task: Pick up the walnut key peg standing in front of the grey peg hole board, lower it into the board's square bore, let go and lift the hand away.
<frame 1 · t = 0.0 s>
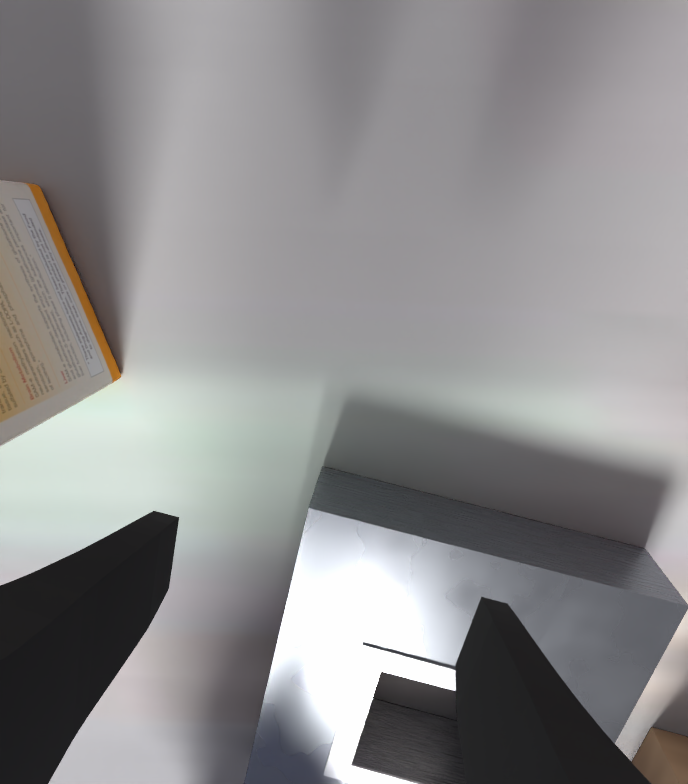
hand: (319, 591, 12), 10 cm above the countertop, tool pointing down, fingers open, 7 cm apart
key peg: (675, 767, 25), on the countertop
supplement box: (41, 302, 22), on the countertop
grey peg hole board: (424, 667, 25), on the countertop
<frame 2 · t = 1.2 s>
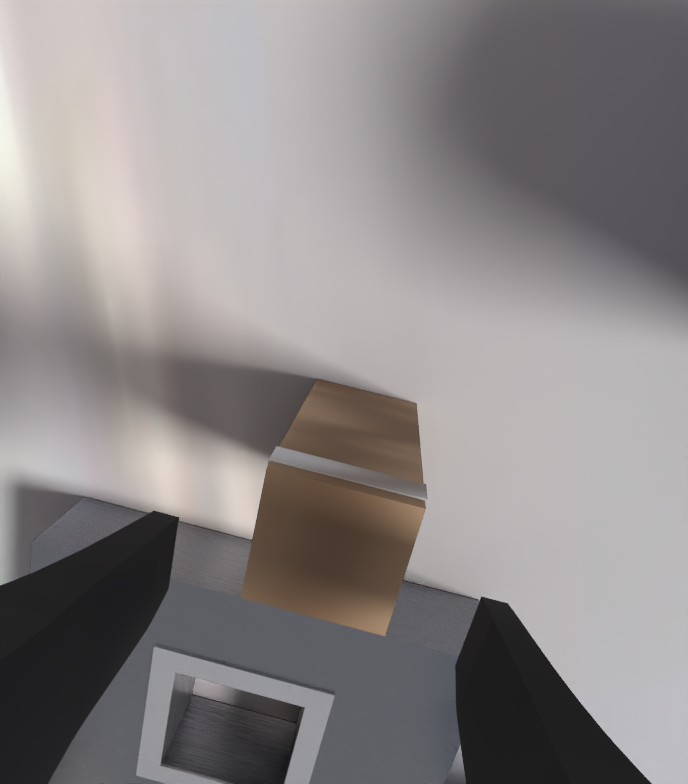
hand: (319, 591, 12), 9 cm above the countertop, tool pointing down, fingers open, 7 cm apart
key peg: (355, 436, 21), on the countertop
grey peg hole board: (253, 668, 25), on the countertop
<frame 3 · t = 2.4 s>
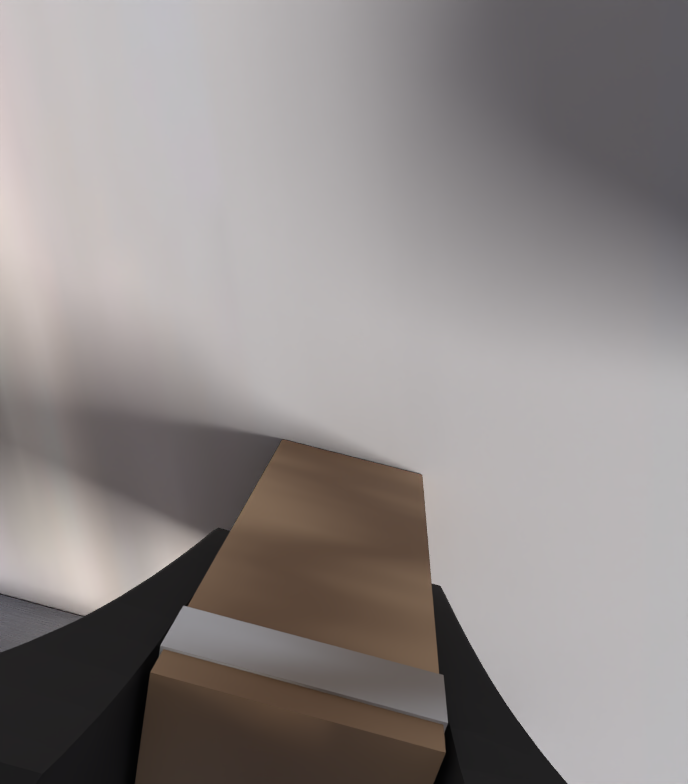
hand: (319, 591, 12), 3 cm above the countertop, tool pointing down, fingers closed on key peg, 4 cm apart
key peg: (336, 517, 15), on the countertop, touching gripper
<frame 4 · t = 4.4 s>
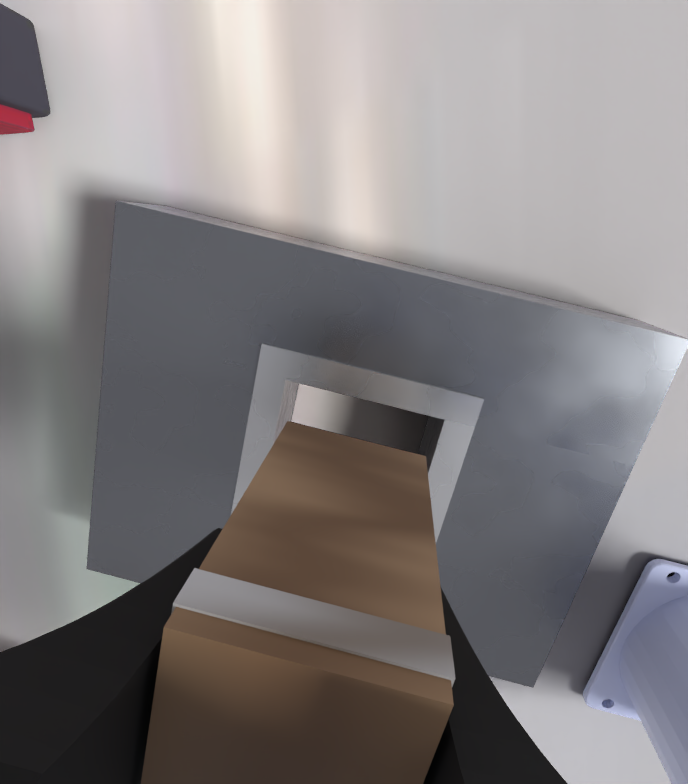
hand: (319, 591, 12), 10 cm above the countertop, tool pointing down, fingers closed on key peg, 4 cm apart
key peg: (340, 499, 15), point 6 cm above the countertop, touching gripper
grey peg hole board: (355, 432, 21), on the countertop
when the fingers open (4 cm above the countertop, at t = 5.8 s): key peg stays where it is, resting in grey peg hole board.
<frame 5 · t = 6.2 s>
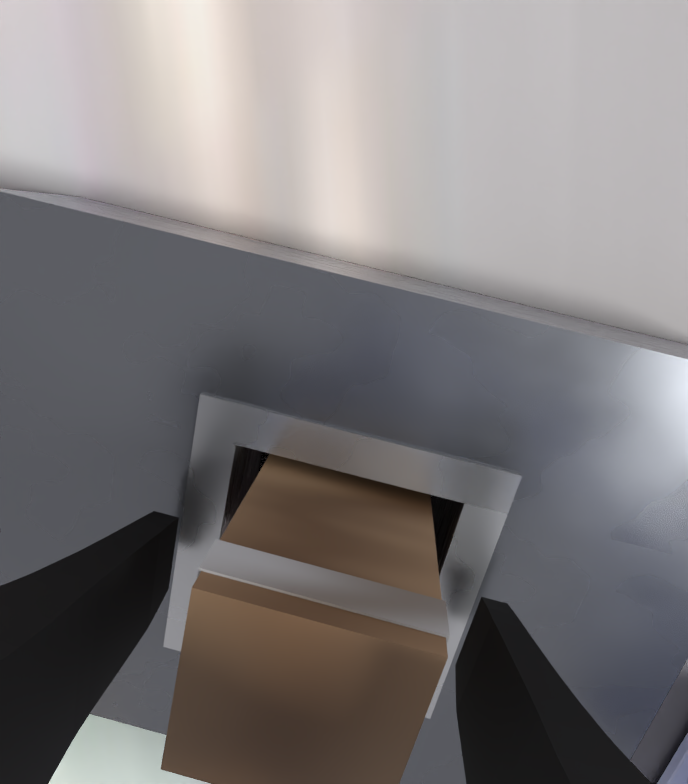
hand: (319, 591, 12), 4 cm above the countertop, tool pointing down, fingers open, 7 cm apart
key peg: (344, 486, 16), resting in grey peg hole board
grey peg hole board: (340, 497, 16), on the countertop
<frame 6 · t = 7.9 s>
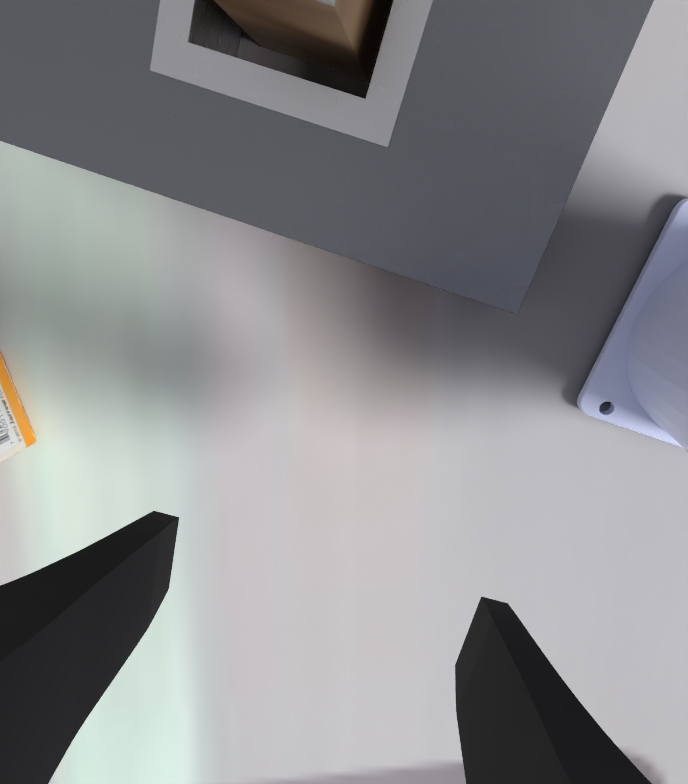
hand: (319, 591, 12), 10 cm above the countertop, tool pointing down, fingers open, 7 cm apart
grey peg hole board: (326, 9, 17), on the countertop
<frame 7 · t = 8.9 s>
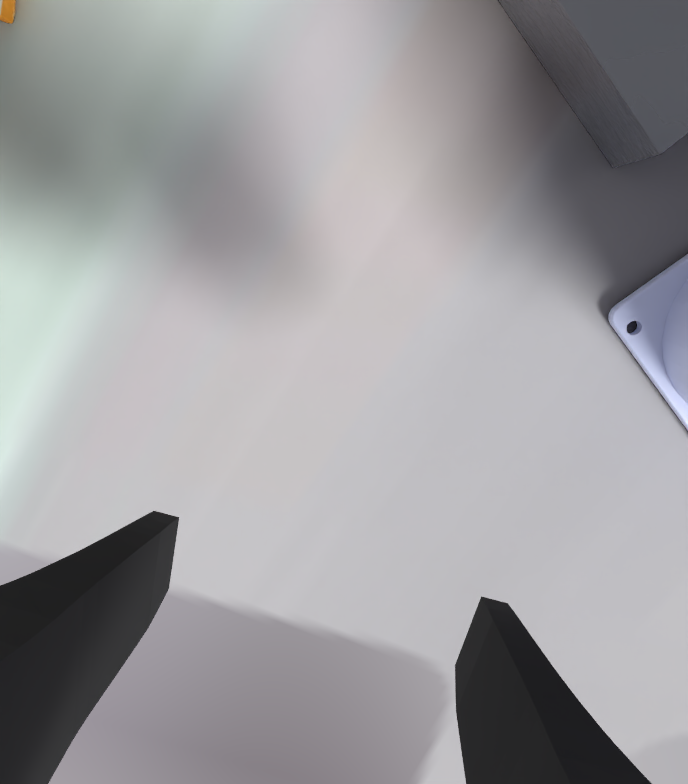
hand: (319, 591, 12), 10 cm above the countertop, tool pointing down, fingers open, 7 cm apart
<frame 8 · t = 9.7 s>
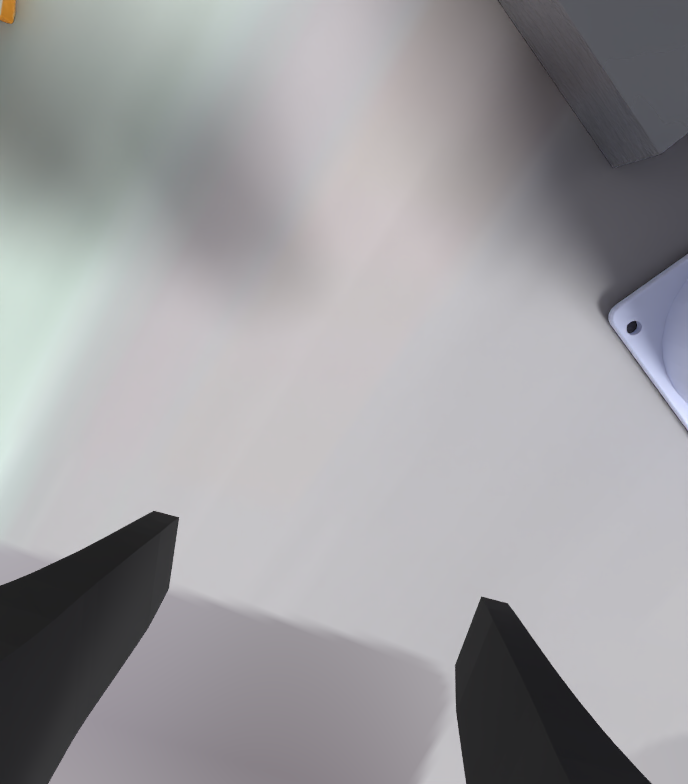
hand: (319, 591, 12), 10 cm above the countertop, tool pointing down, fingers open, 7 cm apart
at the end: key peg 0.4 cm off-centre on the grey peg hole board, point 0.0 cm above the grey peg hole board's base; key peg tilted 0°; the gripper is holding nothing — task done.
